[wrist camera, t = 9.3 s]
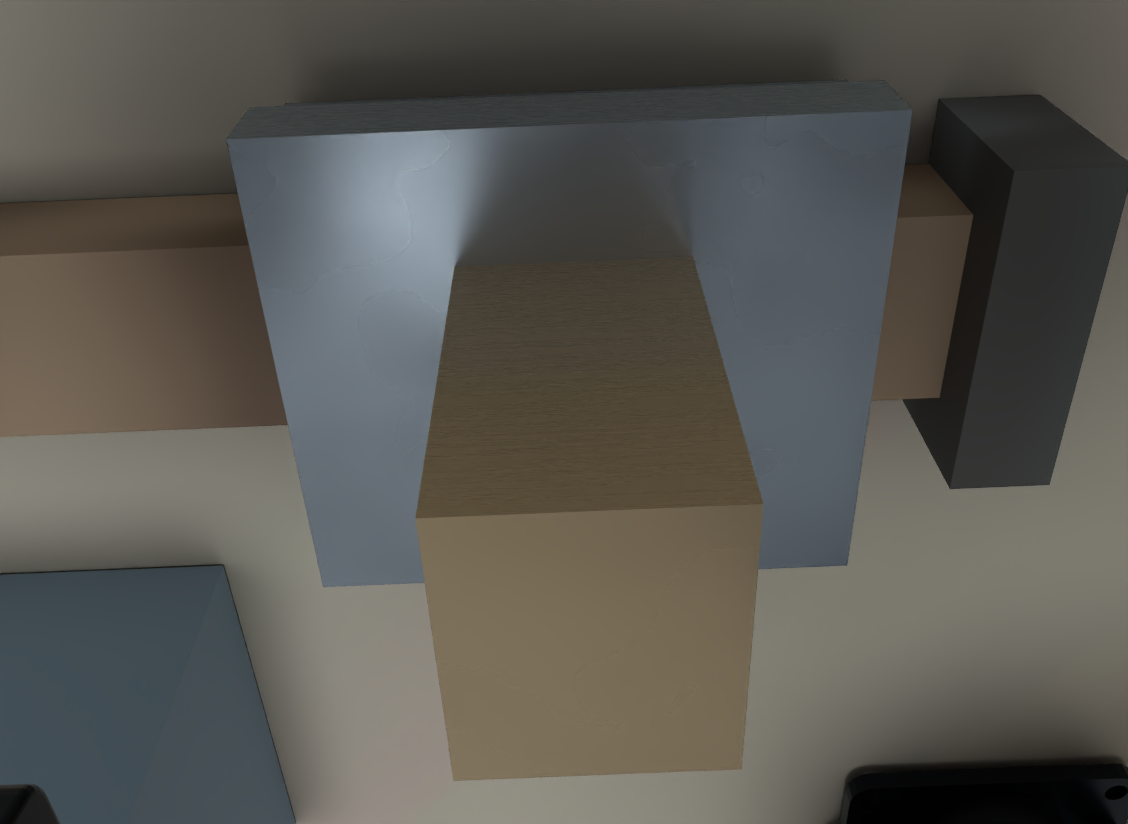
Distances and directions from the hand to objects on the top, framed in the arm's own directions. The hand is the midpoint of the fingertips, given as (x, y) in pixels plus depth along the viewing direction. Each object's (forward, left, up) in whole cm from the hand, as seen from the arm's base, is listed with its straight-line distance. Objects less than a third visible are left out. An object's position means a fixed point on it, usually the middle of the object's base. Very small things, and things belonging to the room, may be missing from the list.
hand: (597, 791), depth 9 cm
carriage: (0, 0, -10) cm, 10 cm away
